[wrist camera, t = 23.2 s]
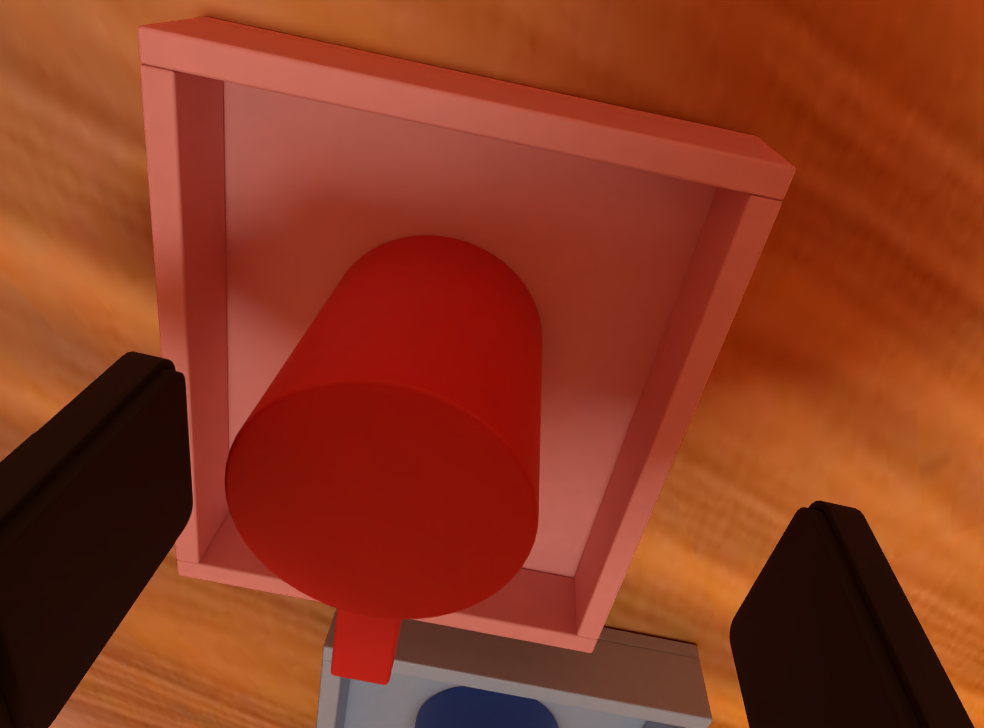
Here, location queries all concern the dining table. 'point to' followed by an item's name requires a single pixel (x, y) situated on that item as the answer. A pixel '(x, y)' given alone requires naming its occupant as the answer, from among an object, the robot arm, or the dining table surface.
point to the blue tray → (526, 679)
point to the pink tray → (464, 216)
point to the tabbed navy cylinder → (482, 711)
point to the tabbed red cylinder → (399, 446)
